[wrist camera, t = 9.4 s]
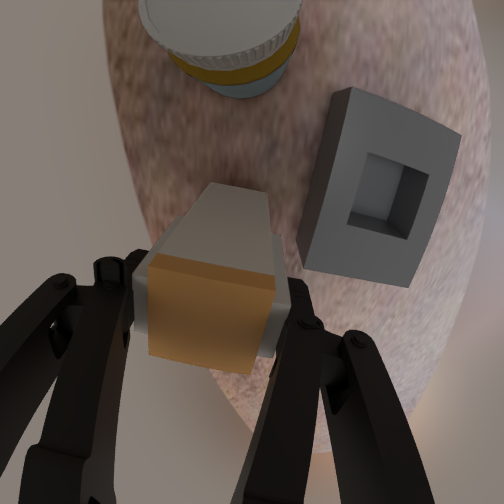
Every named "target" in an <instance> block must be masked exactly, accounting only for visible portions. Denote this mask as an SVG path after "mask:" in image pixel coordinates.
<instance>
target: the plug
mask: <svg viewBox="0 0 504 504" xmlns="http://www.w3.org/2000/svg"><path fill="white" fill-rule="evenodd" d="M275 293H276V286H275V273H274V261H273V249H272V237H271V226H270V215H269V204H268V193H266V192H261V191H256V190H251V189H246V188H241V187H235V186H230V185H225V184H219V183H214V182H210V184H209V185H208V186H207V188H206V189H205V190H204V191H203V193H202V194H201V195H200V196H199V198H198V199H197V200H196V202H195V203H194V204H193V205H192V207H191V208H190V209H189V211H188V212H187V213H186V215H185V216H184V217H183V219H182V220H181V221H180V223H179V224H178V225H177V227H176V228H175V229H174V231H173V232H172V233H171V235H170V236H169V237H168V239H167V240H166V242H165V243H164V244H163V246H162V247H161V249H160V250H159V251H158V253H157V254H156V256H155V257H154V258H153V260H152V261H151V263H150V264H149V266H148V340H149V341H148V343H149V355H152V356H156V357H160V358H164V359H169V360H172V361H177V362H181V363H186V364H191V365H196V366H200V367H205V368H211V369H216V370H222V371H227V372H233V373H239V374H246V375H251V372H252V369H253V366H254V362H255V359H256V356H257V353H258V350H259V346H260V343H261V340H262V336H263V333H264V330H265V327H266V323H267V320H268V317H269V313H270V310H271V306H272V303H273V300H274V296H275Z"/></svg>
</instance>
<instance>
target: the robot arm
mask: <svg viewBox="0 0 504 504" xmlns="http://www.w3.org/2000/svg"><path fill="white" fill-rule="evenodd" d="M183 217H184V216H179V215H178V216H177V217H176V218H175V219H174V221H173V222H172V223H171V224H170V226H169V227H168V228H167V229H166V231H165V232H164V233H163V234H162V236H161V237H160V238H159V239H158V241H157V242H156V243H155V245H154V246H153V247H152V248H151V250H150V251H147V250H142V249H137V250H135V251H133V252H131V253H130V254H129V255H128V256H127V257H126V259H125V260H123V259H121V258H118V257H103V258H100V259H98V260H96V261H95V262H94V263H93V266H94V278H95V283H94V285H93V286H80V285H76V279H75V278H74V277H73V276H72V275H70V274H65V273H59V274H56V275H53V276H51V277H50V278H48V279H47V280H46V281H45V282H44V283H43V284H42V285H41V286H40V287H39V288H37V289H36V290H35V291H34V292H33V293H32V294H31V295H30V296H29V297H28V298H27V299H26V300H25V301H24V302H23V303H22V304H21V305H20V306H19V307H18V308H17V309H16V310H15V311H14V312H13V313H12V314H11V315H10V316H9V317H8V318H7V319H6V320H5V321H4V322H3V323H2V325H0V477H1V475H2V473H3V471H4V470H5V468H6V466H7V464H8V461H9V460H10V458H11V456H12V454H13V452H14V450H15V448H16V446H17V444H18V442H19V440H20V438H21V436H22V435H23V433H24V431H25V429H26V427H27V426H28V424H29V422H30V420H31V418H32V417H33V415H34V413H35V412H36V410H37V408H38V406H39V405H40V403H41V402H42V400H43V398H44V397H45V395H46V393H47V392H48V390H49V389H50V387H51V385H52V384H53V382H54V381H55V379H56V378H57V380H56V383H55V386H54V390H53V393H52V397H51V400H50V404H49V407H48V411H47V415H46V419H45V422H44V426H43V431H42V435H41V439H40V441H39V443H38V444H35V445H32V446H30V448H29V449H28V451H27V454H26V457H25V462H24V467H23V473H22V479H21V486H20V494H19V501H18V504H116V497H115V492H114V483H113V482H114V461H115V446H116V433H117V424H118V413H119V406H120V398H121V390H122V383H123V377H124V370H125V364H126V358H127V352H128V347H129V341H130V327H131V325H132V323H133V321H134V330H135V331H138V332H142V333H146V334H148V266H149V264H150V263H151V261H152V260H153V258H154V257H155V256H156V254H157V253H158V251H159V250H160V249H161V247H162V246H163V244H164V243H165V242H166V240H167V239H168V237H169V236H170V235H171V233H172V232H173V231H174V229H175V228H176V227H177V225H178V224H179V223H180V221H181V220H182V219H183ZM271 237H272V249H273V261H274V273H275V286H276V293H275V296H274V300H273V303H272V306H271V310H270V313H269V317H268V320H267V323H266V327H265V330H264V333H263V336H262V340H261V343H260V346H259V350H258V353H257V356H261V357H267V358H273V356H274V353H275V351H276V359H275V362H274V365H273V367H272V370H271V372H270V375H269V378H270V379H269V382H268V386H267V390H266V393H265V397H264V400H263V403H262V407H261V410H260V414H259V417H258V420H257V424H256V427H255V430H254V433H253V437H252V440H251V443H250V446H249V449H248V453H247V456H246V459H245V462H244V465H243V468H242V471H241V474H240V477H239V480H238V483H237V486H236V489H235V492H234V494H233V497H232V500H231V503H230V504H304V495H305V490H306V484H307V479H308V472H309V467H310V461H311V454H312V447H313V440H314V433H315V425H316V417H317V408H318V399H319V390H320V389H321V394H322V399H323V404H324V409H325V414H326V419H327V425H328V430H329V435H330V441H331V446H332V452H333V457H334V463H335V469H336V475H337V481H338V486H339V493H340V499H341V504H435V502H434V499H433V495H432V492H431V489H430V486H429V482H428V479H427V476H426V473H425V470H424V467H423V464H422V461H421V458H420V455H419V452H418V449H417V446H416V443H415V440H414V438H413V435H412V433H411V429H410V427H409V424H408V421H407V419H406V416H405V414H404V411H403V409H402V406H401V403H400V401H399V398H398V396H397V394H396V391H395V389H394V386H393V384H392V381H391V379H390V377H389V374H388V372H387V370H386V367H385V365H384V363H383V360H382V358H381V356H380V354H379V351H378V349H377V347H376V345H375V342H374V341H373V339H372V338H371V337H370V336H369V335H367V334H366V333H364V332H362V331H358V330H349V331H346V332H345V334H344V335H343V337H341V336H338V335H336V334H333V333H330V332H328V331H326V330H325V329H324V324H323V322H322V321H321V320H320V319H319V318H318V317H316V316H315V314H314V310H313V306H312V302H311V299H310V294H309V290H308V286H307V285H306V284H305V283H304V281H303V280H301V279H295V278H290V277H287V273H286V267H285V260H284V254H283V247H282V241H281V235H278V234H273V233H271ZM53 322H54V325H53V326H52V327H51V325H52V323H53ZM50 327H51V328H50ZM57 376H58V377H57Z"/></svg>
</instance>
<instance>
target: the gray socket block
mask: <svg viewBox="0 0 504 504" xmlns="http://www.w3.org/2000/svg"><path fill="white" fill-rule="evenodd" d="M461 136H462V135H460V134H458V133H457V132H455V131H453V130H451V129H449V128H447V127H445V126H444V125H442V124H440V123H438V122H436V121H434V120H432V119H430V118H428V117H426V116H424V115H422V114H419V113H417V112H415V111H413V110H411V109H408V108H406V107H404V106H402V105H399V104H397V103H395V102H392V101H390V100H387V99H385V98H382V97H380V96H377V95H374V94H372V93H369V92H366V91H363V90H361V89H358V88H355V87H349V88H346V89H343V90H340V91H337V92H335V93H333V96H332V100H331V105H330V109H329V113H328V118H327V122H326V126H325V130H324V135H323V139H322V143H321V147H320V151H319V155H318V159H317V163H316V167H315V171H314V175H313V179H312V183H311V186H310V190H309V194H308V198H307V202H306V205H305V209H304V213H303V217H302V220H301V224H300V227H299V231H298V235H297V238H296V243H297V246H298V250H299V254H300V258H301V261H302V265H303V269H308V270H313V271H318V272H324V273H329V274H335V275H340V276H345V277H351V278H356V279H362V280H367V281H372V282H378V283H383V284H389V285H394V286H400V287H405V288H408V287H409V285H410V283H411V281H412V279H413V277H414V275H415V272H416V270H417V268H418V266H419V263H420V261H421V259H422V256H423V254H424V252H425V249H426V247H427V244H428V242H429V239H430V237H431V234H432V232H433V229H434V226H435V224H436V221H437V218H438V215H439V213H440V210H441V207H442V204H443V201H444V198H445V195H446V192H447V188H448V185H449V182H450V178H451V175H452V171H453V168H454V164H455V160H456V157H457V153H458V149H459V145H460V140H461Z"/></svg>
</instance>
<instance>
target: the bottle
mask: <svg viewBox="0 0 504 504" xmlns="http://www.w3.org/2000/svg"><path fill="white" fill-rule="evenodd" d="M302 2H303V1H302V0H139V2H138V8H139V15H140V18H141V21H142V24H143V25H144V27H145V30H146V31H147V32H148V34H149V36H151V37H152V38H153V40H154V41H155V42H157V43H158V44H159V45H160V46H162V47H163V48H165V49H166V50H167V51H168V53H169V55H170V57H171V59H172V60H173V61H174V62H175V63H176V64H177V65H178V66H179V67H180V68H181V69H182V70H183V71H184V72H185V73H187V74H188V75H190V76H191V77H193V78H195V79H196V80H198V81H200V82H201V83H203V84H205V85H206V86H208V87H209V88H211V89H213V90H214V91H216V92H218V93H220V94H222V95H224V96H227V97H232V98H236V99H243V98H252V97H255V96H258V95H261V94H263V93H265V92H267V91H268V90H269V89H271V88H272V87H273V86H274V85H275V84H276V83H277V82H278V80H279V79H280V78H281V76H282V74H283V72H284V70H285V68H286V66H287V64H288V62H289V59H290V57H291V55H292V53H293V51H294V49H295V47H296V43H297V40H298V36H299V32H300V23H299V12H300V9H301V5H302Z"/></svg>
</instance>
